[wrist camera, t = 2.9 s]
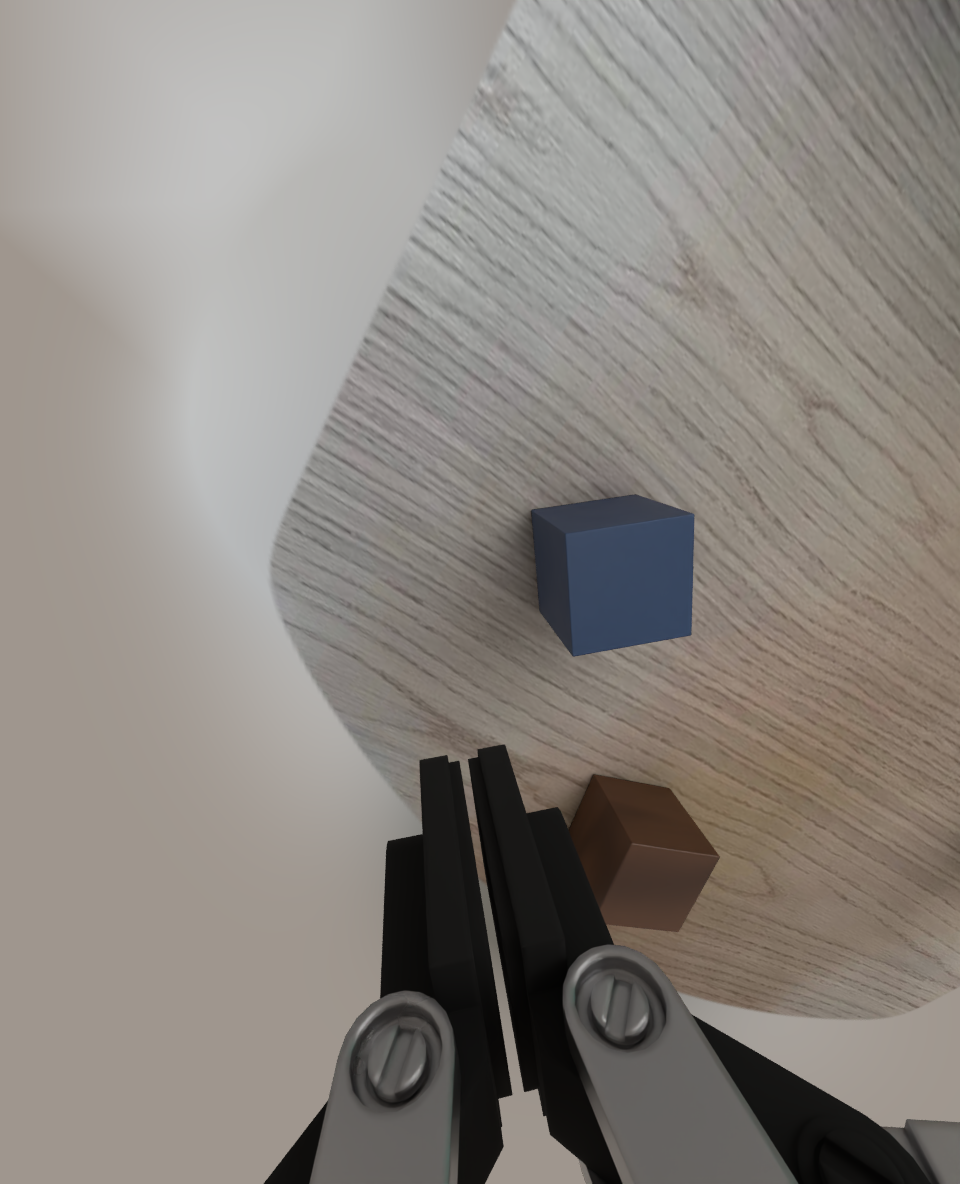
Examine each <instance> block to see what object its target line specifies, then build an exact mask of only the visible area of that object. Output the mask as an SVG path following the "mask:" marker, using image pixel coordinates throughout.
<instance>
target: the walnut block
mask: <svg viewBox="0 0 960 1184" xmlns="http://www.w3.org/2000/svg"><path fill="white" fill-rule="evenodd" d="M569 833H570V836H571V838H572V841H573V843H574V846H575V848H576V851H577V853H578V856H579V858H580V861H581V863H582V866H583V868H584V871H585V873H586V876H587V878H588V881H589V883H590V886H591V888H592V891H593V893H594V896H595V898H596V901H597V903H598V906H599V908H600V911H601V913H602V916H603V918H604V921H605V923H606V924H607V925H616V926H625V927H635V928H644V929H653V930H663V931H672V932H679V930H680V929H681V927H682V925H683V923H684V921H685V919H686V918H687V916H688V914H689V912H690V910H691V909H692V907H693V905H694V903H695V901H696V900H697V898H698V896H699V894H700V892H701V891H702V889H703V887H704V885H705V883H706V882H707V880H708V878H709V876H710V874H711V873H712V871H713V869H714V867H715V865H716V864H717V862H718V860H719V858H720V856H719V855H718V854H717V852H716V851H715V849H714V848H713V847H712V845H711V844H710V843H709V841H708V840H707V839H706V837H705V836H704V834H703V833H702V832H701V830H700V829H699V828H698V826H697V825H696V824H695V822H694V821H693V820H692V818H691V817H690V815H689V814H688V813H687V811H686V810H685V809H684V807H683V806H682V805H681V803H680V802H679V800H678V799H677V798H676V796H675V795H674V794H673V792H672V791H671V790H670V789H669V788H664V787H659V786H653V785H648V784H643V783H637V782H632V781H626V780H621V779H616V778H610V777H605V776H599V775H593V777H592V780H591V782H590V784H589V786H588V789H587V791H586V793H585V795H584V798H583V800H582V802H581V804H580V806H579V809H578V811H577V813H576V815H575V818H574V820H573V822H572V824H571V827H570V829H569Z"/></svg>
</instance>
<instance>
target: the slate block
mask: <svg viewBox="0 0 960 1184" xmlns="http://www.w3.org/2000/svg"><path fill="white" fill-rule="evenodd" d="M531 513H532V525H533V538H534V550H535V562H536V574H537V586H538V598H539V610H540V613H541V614H542V615H543V617H544V618H545V619H546V621H547V622H548V623H549V625H550V626H551V628H552V629H553V630H554V632H555V633H556V634H557V636H558V637H559V638H560V640H561V641H562V642H563V644H564V645H565V647H566V648H567V649H568V651H569V652H570V653H571V655H572V656H579V655H585V654H590V653H596V652H601V651H607V650H612V649H618V648H623V647H629V646H634V645H640V644H646V643H651V642H657V641H662V640H668V639H673V638H679V637H684V636H690V635H691V627H692V588H693V549H694V514H693V513H690V512H687V511H684V510H681V509H678V508H675V507H672V506H669V505H666V504H663V503H660V502H657V501H654V500H651V499H648V498H645V497H642V496H639V495H636V494H635V495H629V496H622V497H615V498H608V499H602V500H595V501H588V502H581V503H575V504H568V505H561V506H554V507H548V508H541V509H534V510H531Z"/></svg>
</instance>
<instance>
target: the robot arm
mask: <svg viewBox="0 0 960 1184" xmlns="http://www.w3.org/2000/svg"><path fill="white" fill-rule="evenodd" d="M468 763H469V769H470V776H471V783H472V789H473V796H474V803H475V809H476V816H477V823H478V829H479V836H480V842H481V849H482V856H483V862H484V869H485V875H486V881H487V887H488V892H489V898H490V903H491V909H492V914H493V920H494V925H495V931H496V937H497V943H498V948H499V953H500V959H501V965H502V970H503V976H504V982H505V988H506V993H507V998H508V1004H509V1010H510V1016H511V1021H512V1027H513V1032H514V1038H515V1043H516V1049H517V1054H518V1060H519V1066H520V1072H521V1077H522V1082H523V1088H524V1092H527V1091H531V1090H535V1089H538V1091H539V1096H540V1101H541V1106H542V1111H543V1116H546V1117H547V1122H548V1127H549V1132H550V1135H551V1136H552V1137H554V1138H555V1139H556V1140H557V1141H558V1142H560V1143H561V1144H562V1145H563V1146H564V1147H565V1148H566V1149H568V1150H569V1151H570V1152H571V1153H572V1154H574V1155H575V1156H576V1157H577V1158H578V1159H579V1163H580V1167H581V1171H582V1174H583V1176H584V1180H585V1182H586V1184H960V1122H945V1121H928V1120H911V1119H907V1120H906V1123H905V1127H904V1128H896V1127H881V1126H879V1125H878V1124H876V1123H875V1122H874V1121H872V1120H871V1119H869V1118H868V1117H867V1116H865V1115H864V1114H862V1113H861V1112H859V1111H857V1110H855V1109H854V1108H852V1107H850V1106H848V1105H847V1104H845V1103H843V1102H842V1101H840V1100H838V1099H836V1098H835V1097H833V1096H831V1095H830V1094H827V1093H826V1092H824V1091H822V1090H821V1089H819V1088H817V1087H816V1086H814V1085H812V1084H810V1083H809V1082H807V1081H805V1080H804V1079H802V1078H800V1077H798V1076H797V1075H795V1074H793V1073H792V1072H790V1071H788V1070H786V1069H785V1068H783V1067H781V1066H780V1065H778V1064H776V1063H774V1062H773V1061H771V1060H769V1059H767V1058H766V1057H764V1056H762V1055H761V1054H759V1053H757V1052H755V1051H753V1050H752V1049H750V1048H749V1047H747V1046H745V1045H743V1044H741V1043H740V1042H738V1041H736V1040H735V1039H733V1038H731V1037H730V1036H728V1035H726V1034H724V1033H723V1032H721V1031H719V1030H717V1029H716V1028H714V1027H712V1026H711V1025H709V1024H707V1023H705V1022H703V1021H702V1020H700V1019H699V1018H697V1017H695V1016H693V1015H692V1014H691V1013H690V1012H689V1010H688V1009H687V1007H686V1005H685V1004H684V1002H683V1001H682V999H681V997H680V996H679V994H678V993H677V991H676V990H675V988H674V986H673V985H672V983H671V982H670V980H669V979H668V977H667V976H666V975H665V974H664V973H663V971H662V970H661V969H660V968H659V966H658V965H657V964H656V963H655V962H653V961H652V960H650V959H649V958H648V957H646V956H645V955H644V954H642V953H641V952H638V951H636V950H633V949H631V948H628V947H625V946H618V945H614V943H613V941H612V938H611V936H610V933H609V931H608V928H607V926H606V923H605V921H604V918H603V916H602V913H601V911H600V908H599V906H598V903H597V901H596V898H595V896H594V893H593V891H592V888H591V886H590V883H589V881H588V878H587V876H586V873H585V871H584V868H583V866H582V863H581V861H580V858H579V856H578V853H577V851H576V848H575V846H574V843H573V841H572V838H571V836H570V833H569V830H568V828H567V825H566V823H565V820H564V818H563V816H562V813H561V811H560V810H559V808H558V807H556V808H551V809H546V810H541V811H536V812H531V813H526V811H525V808H524V804H523V801H522V798H521V795H520V791H519V788H518V785H517V782H516V778H515V775H514V772H513V769H512V766H511V762H510V759H509V756H508V753H507V749H506V746H505V745H498V746H493V747H488V748H482V749H478V757H476V758H471V759H468ZM420 784H421V806H422V829H423V834H421V835H416V836H411V837H406V838H401V839H396V840H391V841H388V843H387V850H386V870H385V894H384V919H383V921H384V922H383V944H382V946H383V947H382V968H381V995H380V999H379V1000H377V1001H376V1002H374V1003H372V1004H371V1005H370V1006H369V1007H368V1008H367V1009H366V1010H365V1011H364V1012H363V1013H362V1014H361V1015H360V1016H359V1017H358V1018H357V1019H356V1021H355V1022H354V1024H353V1025H352V1027H351V1028H350V1030H349V1031H348V1033H347V1035H346V1036H345V1039H344V1042H343V1045H342V1047H341V1050H340V1053H339V1056H338V1060H337V1064H336V1068H335V1073H334V1077H333V1082H332V1086H331V1091H330V1095H329V1099H328V1101H327V1102H326V1104H325V1105H324V1107H323V1108H322V1109H321V1110H320V1112H319V1113H318V1114H317V1115H316V1117H315V1118H314V1119H313V1121H312V1122H311V1123H310V1124H309V1126H308V1127H307V1128H306V1130H305V1131H304V1132H303V1134H302V1135H301V1136H300V1138H299V1139H298V1140H297V1141H296V1143H295V1144H294V1145H293V1147H292V1148H291V1149H290V1150H289V1152H288V1153H287V1154H286V1155H285V1157H284V1158H283V1159H282V1161H281V1162H280V1163H279V1165H278V1166H277V1167H276V1169H275V1170H274V1171H273V1172H272V1174H271V1175H270V1176H269V1178H268V1179H267V1180H266V1181H265V1183H264V1184H485V1182H486V1180H487V1178H488V1176H489V1174H490V1172H491V1170H492V1168H493V1167H494V1164H495V1162H496V1161H497V1159H498V1157H499V1155H500V1152H501V1151H502V1149H503V1139H502V1132H501V1127H502V1122H501V1115H500V1107H499V1100H498V1099H499V1098H503V1097H507V1096H511V1095H512V1089H511V1082H510V1076H509V1071H508V1063H507V1057H506V1051H505V1045H504V1038H503V1032H502V1025H501V1019H500V1012H499V1006H498V1000H497V993H496V987H495V980H494V974H493V968H492V961H491V955H490V949H489V943H488V936H487V930H486V924H485V918H484V911H483V905H482V899H481V893H480V887H479V880H478V874H477V868H476V862H475V855H474V849H473V843H472V837H471V831H470V824H469V818H468V812H467V806H466V800H465V793H464V787H463V781H462V775H461V769H460V762H459V761H455V762H450V763H449V762H448V756H447V755H445V756H440V757H434V758H429V759H423V760H420Z"/></svg>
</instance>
